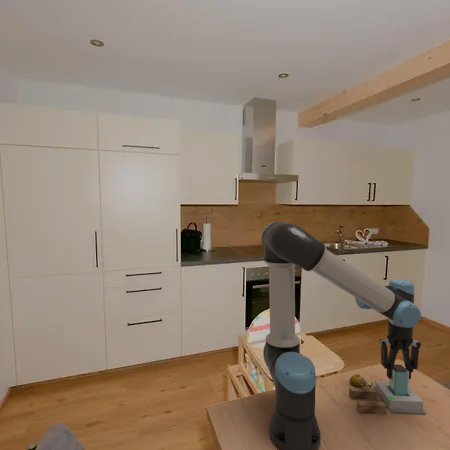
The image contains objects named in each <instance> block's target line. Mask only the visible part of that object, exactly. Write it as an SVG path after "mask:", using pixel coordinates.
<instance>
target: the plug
mask: <svg viewBox="0 0 450 450" xmlns="http://www.w3.org/2000/svg"><path fill="white" fill-rule="evenodd" d="M405 368H406V367H405V366H403V364H395V363H394V367H393V369H394V371H395V389H392V388H391V386H390V391H391V392H392V394H393V395H394V396H407V386H408V373H407V372H406V369H405Z"/></svg>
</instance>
